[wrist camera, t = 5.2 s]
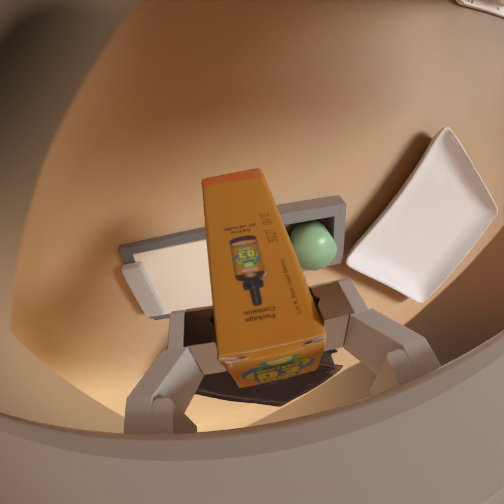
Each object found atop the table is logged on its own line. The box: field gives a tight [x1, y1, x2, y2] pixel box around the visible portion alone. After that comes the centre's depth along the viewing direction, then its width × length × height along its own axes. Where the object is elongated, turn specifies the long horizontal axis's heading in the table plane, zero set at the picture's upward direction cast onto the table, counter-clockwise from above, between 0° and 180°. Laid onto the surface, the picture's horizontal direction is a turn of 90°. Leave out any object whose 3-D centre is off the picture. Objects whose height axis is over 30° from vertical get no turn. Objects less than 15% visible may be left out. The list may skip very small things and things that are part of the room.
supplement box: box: [202, 168, 327, 388], centre depth 12 cm, size 3×3×10 cm
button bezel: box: [276, 195, 346, 271], centre depth 31 cm, size 8×8×2 cm
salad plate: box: [346, 127, 498, 303], centre depth 32 cm, size 21×21×3 cm
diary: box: [195, 349, 343, 407], centre depth 43 cm, size 19×25×5 cm
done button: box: [290, 220, 337, 270], centre depth 30 cm, size 4×4×3 cm
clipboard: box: [118, 227, 213, 320], centre depth 32 cm, size 16×12×2 cm
